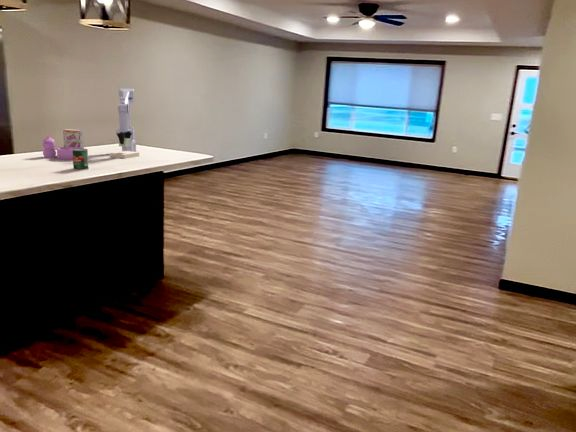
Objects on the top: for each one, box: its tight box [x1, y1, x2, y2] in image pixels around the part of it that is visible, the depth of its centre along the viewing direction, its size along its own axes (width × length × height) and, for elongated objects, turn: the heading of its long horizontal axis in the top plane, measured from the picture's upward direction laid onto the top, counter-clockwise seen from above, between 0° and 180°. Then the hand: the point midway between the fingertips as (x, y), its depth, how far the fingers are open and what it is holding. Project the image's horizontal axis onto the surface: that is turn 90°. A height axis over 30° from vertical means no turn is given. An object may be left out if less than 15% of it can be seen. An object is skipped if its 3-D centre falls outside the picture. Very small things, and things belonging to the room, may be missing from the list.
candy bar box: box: [62, 128, 85, 149], centre depth 322 cm, size 11×5×16 cm, turn 84°
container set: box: [42, 135, 85, 161], centre depth 310 cm, size 25×15×13 cm, turn 86°
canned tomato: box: [72, 148, 89, 171], centre depth 279 cm, size 8×8×11 cm
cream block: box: [109, 150, 140, 159], centre depth 330 cm, size 14×12×3 cm
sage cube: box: [118, 138, 130, 147], centre depth 328 cm, size 5×5×5 cm
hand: (124, 143), depth 329 cm, fingers closed on sage cube, 5 cm apart
